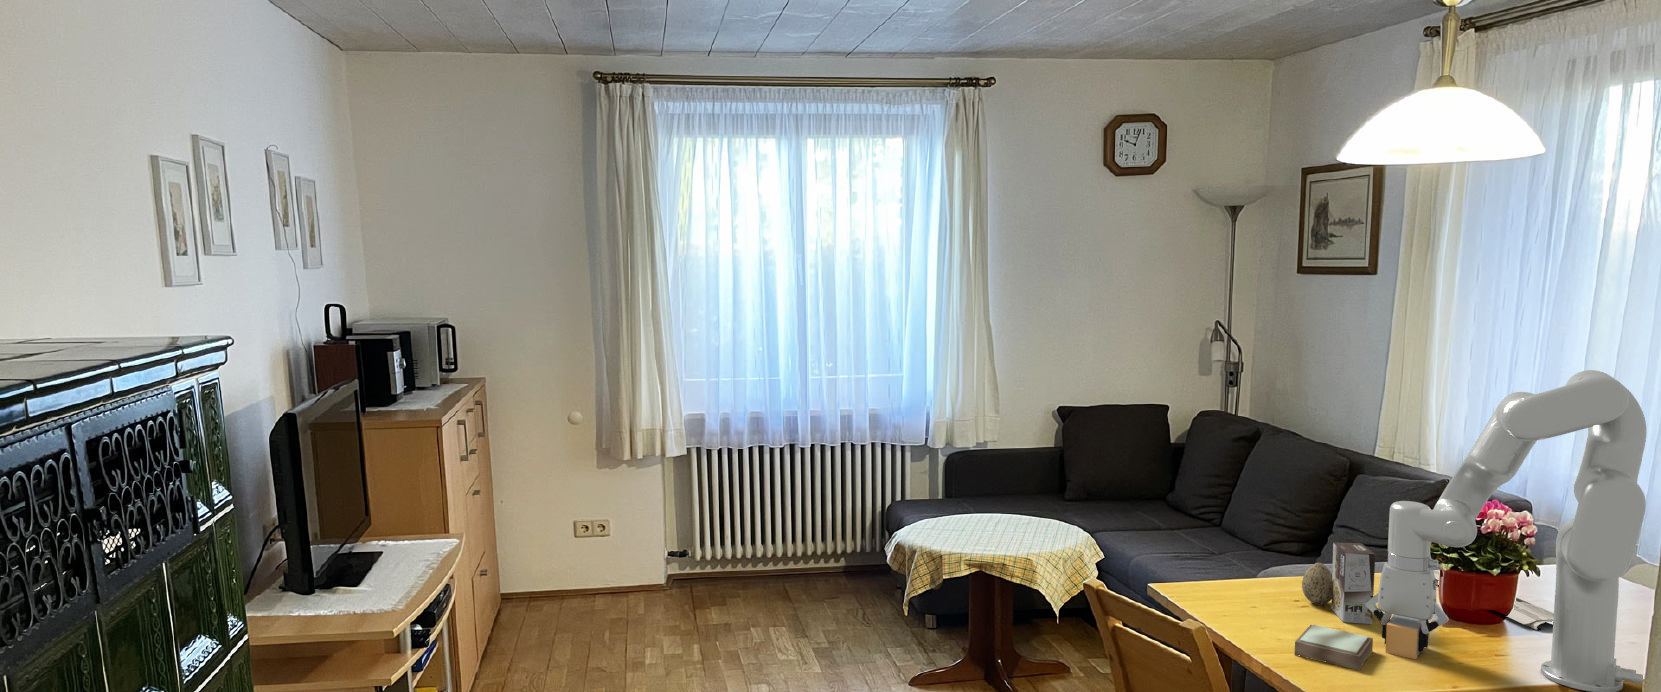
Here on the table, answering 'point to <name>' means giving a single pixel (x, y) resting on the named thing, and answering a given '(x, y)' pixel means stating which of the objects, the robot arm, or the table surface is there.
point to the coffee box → (1352, 582)
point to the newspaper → (1523, 611)
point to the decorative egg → (1317, 584)
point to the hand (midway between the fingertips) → (1404, 645)
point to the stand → (1334, 646)
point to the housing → (1403, 636)
